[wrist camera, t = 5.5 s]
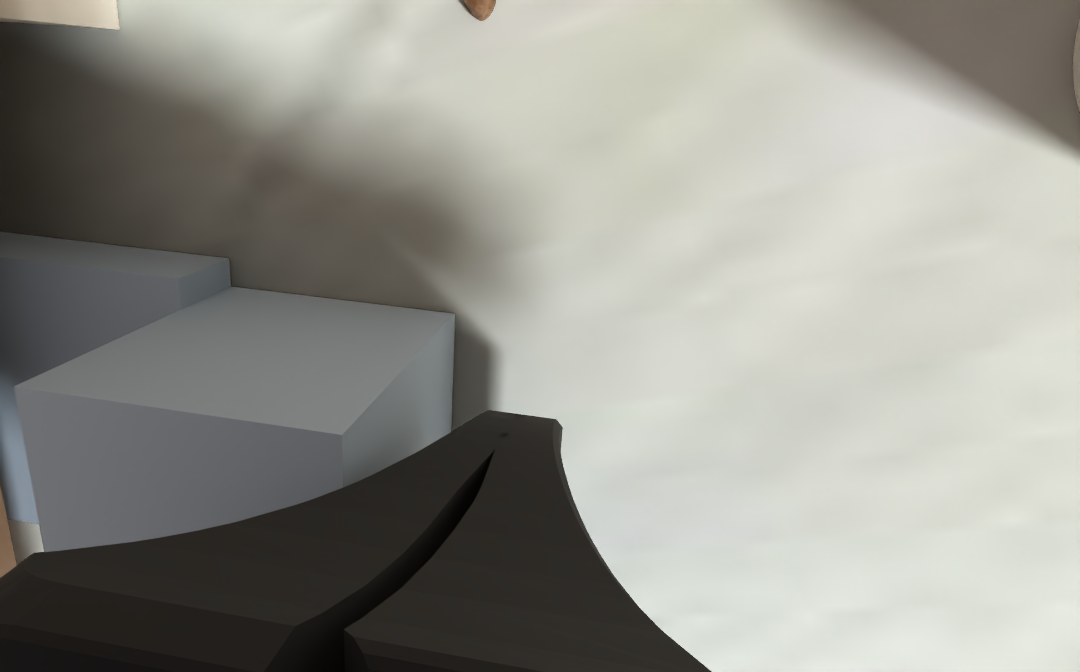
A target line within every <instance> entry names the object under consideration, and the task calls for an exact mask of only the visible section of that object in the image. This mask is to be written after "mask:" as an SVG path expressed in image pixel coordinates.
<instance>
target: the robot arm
mask: <svg viewBox="0 0 1080 672" xmlns="http://www.w3.org/2000/svg"><path fill="white" fill-rule="evenodd" d="M562 428H563V427H562V426H561V425H560V424H559V422H558V421H557V420H556V419H550V418H542V417H535V416H528V415H520V414H513V413H506V412H498V411H491V410H488V411H486V412H484V413H482V414H480V415H479V416H477V417H475V418H473V419H472V420H470V421H468V422H467V423H465V424H464V425H462V426H460V427H459V428H457V429H455V430H454V431H452V432H450V433H449V434H447V435H445V436H444V437H442V438H440V439H438V440H437V441H435V442H433V443H432V444H430V445H428V446H426V447H425V448H423V449H421V450H420V451H418V452H416V453H414V454H412V455H410V456H408V457H406V458H404V459H402V460H400V461H398V462H396V463H394V464H392V465H390V466H389V467H387V468H385V469H383V470H381V471H379V472H377V473H375V474H373V475H371V476H369V477H366V478H364V479H362V480H360V481H357V482H355V483H353V484H350V485H348V486H346V487H343V488H341V489H338V490H335V491H333V492H330V493H328V494H325V495H322V496H320V497H317V498H314V499H312V500H309V501H306V502H303V503H300V504H296V505H293V506H290V507H286V508H283V509H279V510H276V511H272V512H269V513H265V514H262V515H258V516H255V517H252V518H248V519H245V520H241V521H237V522H233V523H229V524H225V525H220V526H216V527H211V528H207V529H202V530H198V531H192V532H187V533H182V534H176V535H171V536H165V537H160V538H154V539H148V540H141V541H135V542H127V543H119V544H111V545H102V546H94V547H86V548H77V549H69V550H61V551H51V552H39V553H33V554H32V555H30V556H29V557H28V558H26V559H25V560H24V561H22V562H21V563H20V564H18V565H17V566H16V567H14V568H13V569H12V570H10V571H9V572H8V573H6V574H5V575H3V576H2V577H1V578H0V672H711V671H710V670H709V669H708V668H706V667H705V666H704V665H703V664H702V663H700V662H699V661H698V660H697V659H695V658H694V657H693V656H692V655H691V654H689V653H688V652H687V651H686V650H685V649H683V648H682V647H681V646H680V645H678V644H677V643H676V642H675V641H674V640H672V639H671V638H670V637H669V636H668V635H666V634H665V633H664V632H663V631H662V630H661V629H660V628H659V627H658V626H657V625H656V624H655V623H654V622H653V621H652V620H651V619H650V618H649V617H648V616H647V615H646V614H645V613H644V612H643V611H642V610H641V609H640V608H639V607H638V606H637V604H636V603H635V602H634V601H633V599H632V598H631V597H630V596H629V594H628V593H627V592H626V591H625V589H624V588H623V587H622V586H621V584H620V583H619V582H618V581H617V579H616V578H615V577H614V575H613V574H612V572H611V571H610V569H609V568H608V566H607V564H606V563H605V561H604V560H603V558H602V557H601V555H600V554H599V552H598V550H597V548H596V547H595V545H594V543H593V541H592V539H591V538H590V536H589V534H588V532H587V530H586V528H585V526H584V524H583V521H582V519H581V517H580V515H579V512H578V510H577V507H576V505H575V503H574V500H573V497H572V495H571V492H570V489H569V486H568V482H567V479H566V475H565V471H564V468H563V464H562V459H561V452H560V451H561V440H562Z"/></svg>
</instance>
